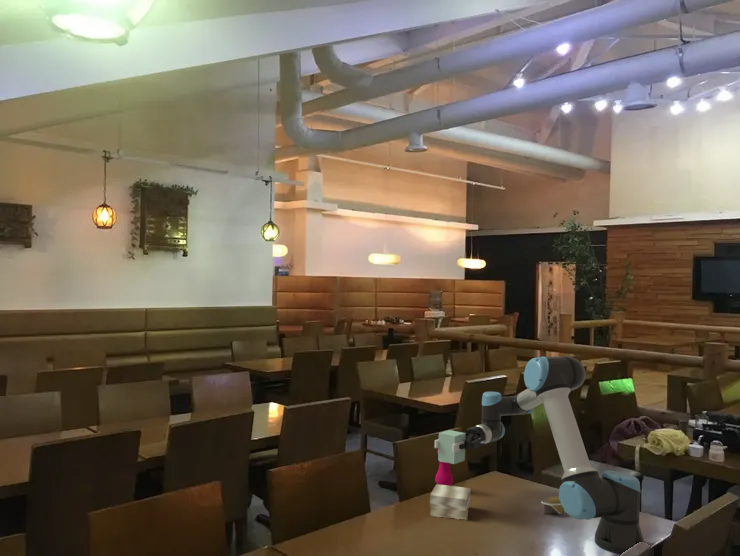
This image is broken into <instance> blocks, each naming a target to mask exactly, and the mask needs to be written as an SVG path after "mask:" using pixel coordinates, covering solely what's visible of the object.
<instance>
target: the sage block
mask: <svg viewBox="0 0 740 556" xmlns="http://www.w3.org/2000/svg"><path fill="white" fill-rule="evenodd" d="M438 439H439V447H438V448H437V451H438V452H437V457H438V458H437V460H438V462H439V461H443V462H447V463H450V465H451V464H452V465H456V464H459V463H463V462H464V461H466V449H462V450H459V451H456V452H452V444H455V443H458V442H461V441H464V443H465V432H461V431H457V430H452V429H448V430H444V431H441V432H438Z"/></svg>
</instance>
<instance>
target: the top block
mask: <svg viewBox="0 0 740 556" xmlns="http://www.w3.org/2000/svg"><path fill="white" fill-rule="evenodd" d="M471 489H472V488H470V487H465V486H464V487H462V486H455V485H451V486H448V485H439V484H437V483H436V484H435V486H434V487H433V489H432V491H431V493H430V494H429V507H431V506H432V507H440V508H448V509H455V510H463V511H466V509H467V507H468V504H469V505H470V501H471Z"/></svg>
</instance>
